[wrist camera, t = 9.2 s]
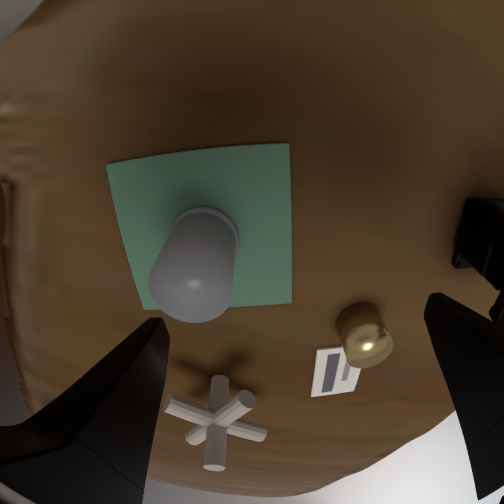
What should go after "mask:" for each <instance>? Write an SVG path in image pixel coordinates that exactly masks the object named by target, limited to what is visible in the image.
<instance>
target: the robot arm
mask: <svg viewBox="0 0 504 504" xmlns="http://www.w3.org/2000/svg"><path fill="white" fill-rule="evenodd" d="M470 204H471V205H470ZM452 266H453V267H454V268H455V269H461V268H468V267H473V268H474V269H475V270H476V271H477V272H478V273H479V274H480V275H481V276H483V277H484V278H485V279H486V280H487V281H488V282H489V283H490V284H491V285H492V286H493V287H494V288H495V289H496V290H499V291H500V293H499V295H498V297H497V299H496V301H495V303H494V305H493V306H492V307H491V309H490V310H489V315H490V317H491V319H492V321H493V322H492V321H491V320H489V319H487V318H485V317H484V316H482V315H480V314H478V313H477V312H475V311H473V310H471V309H470V308H468V307H466V306H464V305H463V304H461V303H459V302H457V301H455V300H453V299H452V298H450V297H448V296H446V295H444V294H442V293H440V292H438V293H432V294H430V295H429V297H428V301H427V304H426V307H425V311H424V320H425V323H426V326H427V329H428V332H429V335H430V339H431V342H432V345H433V349H434V352H435V355H436V357H437V360H438V363H439V365H440V368H441V370H442V373H443V375H444V378H445V381H446V384H447V386H448V389H449V392H450V395H451V398H452V401H453V404H454V407H455V410H456V412H457V416H458V419H459V422H460V426H461V429H462V433H463V436H464V440H465V443H466V447H467V451H468V455H469V459H470V464H471V468H472V473H473V477H474V482H475V487H476V493H477V498H478V500H480V499H482V498H484V497H486V496H488V495H489V494H491V493H493V492H494V491H496V490H497V489H499V488H501V487H502V486H504V199H484V198H468V199H467V201H466V203H465V208H464V213H463V219H462V224H461V228H460V233H459V237H458V242H457V246H456V250H455V254H454V258H453V262H452ZM169 344H170V337H169V333H168V331H167V328H166V325H165V322H164V320H163V318H161V317H151V318H149V319H148V320H146V321H145V322H144V323H143V324H142V325H141V326H139V327H138V328H137V329H136V330H135V331H134V332H133V333H131V334H130V335H129V336H128V337H127V338H126V339H124V340H123V341H122V342H121V343H120V344H119V345H117V346H116V347H115V348H114V349H113V350H112V351H111V352H109V353H108V354H107V355H106V356H105V357H104V358H103V359H101V360H100V361H99V362H98V363H97V364H96V365H95V366H93V367H92V368H91V369H90V370H89V371H88V372H87V373H85V374H84V375H83V376H82V377H81V378H80V379H79V380H77V381H76V382H75V383H74V384H73V385H72V386H71V387H69V388H68V389H67V390H66V391H65V392H63V393H62V394H61V395H60V396H58V397H57V398H56V399H54V400H53V401H52V402H51V403H49V404H48V405H46V406H45V407H44V408H42V409H41V410H40V411H38V412H37V413H36V414H34V415H33V416H31V417H30V418H29V419H27V420H26V421H24V422H22V423H20V424H17V425H11V426H0V504H142V501H143V494H144V487H145V481H146V475H147V470H148V464H149V458H150V453H151V448H152V442H153V437H154V432H155V427H156V422H157V417H158V413H159V408H160V403H161V399H162V394H163V390H164V385H165V379H166V371H167V362H168V353H169ZM499 504H504V496H502V498H501V501H500V503H499Z"/></svg>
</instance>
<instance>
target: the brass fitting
mask: <svg viewBox="0 0 504 504" xmlns="http://www.w3.org/2000/svg"><path fill="white" fill-rule="evenodd" d="M336 328H337V331H338V334H339V337H340V341H341V344H342V347H343V350H344V353H345V356H346V359H347V362H348V364H349V365H350V366H352V367H354V368H368V367H372V366H374V365H376V364H378V363H380V362H382V361H383V360H384V359H385V358H386V357H387V356H388V355H389V354H390V353H391V351H392V349H393V340H392V338H391V336H390V334H389V332H388V330H387V328H386V326H385V324H384V322H383V320H382V318H381V316H380V314H379V312H378V310H377V308H376V307H375V306H374V305H373V304H371V303H367V302H360V303H355V304H353V305H350V306H349V307H347V308H346V309H344V310H343V311H342V312H341V313H340V314H339V316H338V318H337V320H336Z"/></svg>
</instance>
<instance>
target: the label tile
mask: <svg viewBox="0 0 504 504" xmlns="http://www.w3.org/2000/svg"><path fill="white" fill-rule="evenodd" d="M360 370H361V368H354V367H352V366H350V365H349V364H348V362H347V359H346V356H345V353H344V350H343V347H342V345H339V346H332V347H323V348H317V351H316V359H315V367H314V375H313V382H312V389H311V397H315V396H323V395H330V394H337V393H344V392H350V391H354V389H355V386H356V382H357V379H358V376H359V373H360Z"/></svg>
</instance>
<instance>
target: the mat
mask: <svg viewBox="0 0 504 504" xmlns="http://www.w3.org/2000/svg"><path fill="white" fill-rule="evenodd" d="M106 169H107V174H108V179H109V184H110V189H111V194H112V198H113V203H114V207H115V211H116V215H117V220H118V224H119V228H120V232H121V235H122V239H123V243H124V247H125V250H126V254H127V257H128V261H129V264H130V267H131V271H132V274H133V277H134V280H135V284H136V287H137V290H138V293H139V296H140V299H141V302H142V305H143V308H144V310H156V309H160V308H159V307H158V306H157V305H156V304H155V302H154V301H153V299H152V297H151V295H150V293H149V289H148V277H149V273H150V271H151V269H152V267H153V265H154V263H155V261H156V259H157V257H158V256H159V254H160V252H161V250H162V248H163V246H164V244H165V242H166V240H167V236H168V232H169V229H170V227H171V225H172V223H173V222H174V220H175V219H176V217H177V216H178V215H179V214H180V213H181V212H183V211H184V210H186V209H188V208H191V207H194V206H211V207H215V208H217V209H220V210H221V211H223V212H225V213H226V214H227V215H228V216H229V217H230V218H231V219H232V220H233V221H234V223H235V225H236V227H237V229H238V232H239V249H238V253H237V256H236V258H235V264H234V278H233V291H232V299H231V302H230V304H229V306H228V307H239V306H256V305H271V304H285V303H292V224H291V179H290V151H289V143H269V144H253V145H239V146H227V147H217V148H207V149H198V150H190V151H182V152H174V153H167V154H161V155H154V156H148V157H142V158H136V159H131V160H125V161H120V162H115V163H110V164H107V165H106Z"/></svg>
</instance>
